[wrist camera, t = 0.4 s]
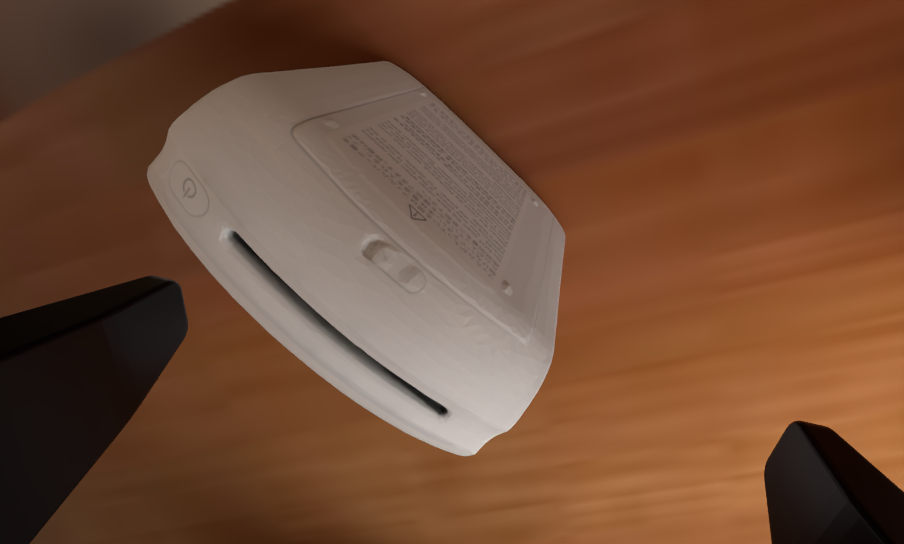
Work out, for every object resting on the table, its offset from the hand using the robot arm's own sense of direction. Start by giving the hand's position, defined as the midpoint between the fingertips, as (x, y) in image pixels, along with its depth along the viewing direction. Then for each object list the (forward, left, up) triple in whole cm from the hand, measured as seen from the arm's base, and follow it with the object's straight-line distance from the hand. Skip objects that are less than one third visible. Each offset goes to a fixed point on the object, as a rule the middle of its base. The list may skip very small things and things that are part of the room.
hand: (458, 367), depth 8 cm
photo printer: (-1, +3, -14) cm, 15 cm away
